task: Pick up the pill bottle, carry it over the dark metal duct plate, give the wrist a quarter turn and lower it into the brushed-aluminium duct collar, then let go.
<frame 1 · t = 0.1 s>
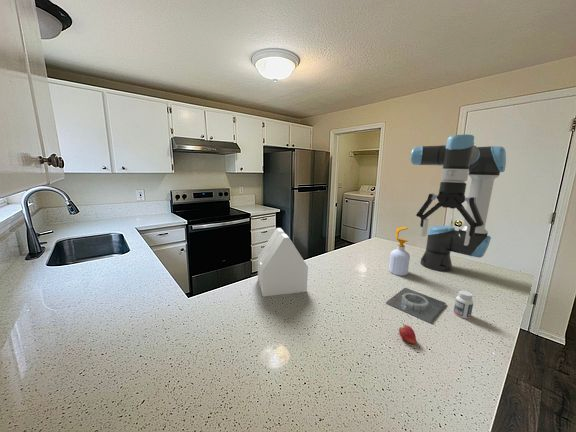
hand: (443, 240, 86), 28 cm above the countertop, fingers open, 13 cm apart
soap bottle: (397, 272, 124), on the countertop
pill bottle: (461, 315, 88), on the countertop
duct plate: (416, 304, 94), on the countertop
fruit: (407, 340, 74), on the countertop
white toy house: (281, 285, 107), on the countertop
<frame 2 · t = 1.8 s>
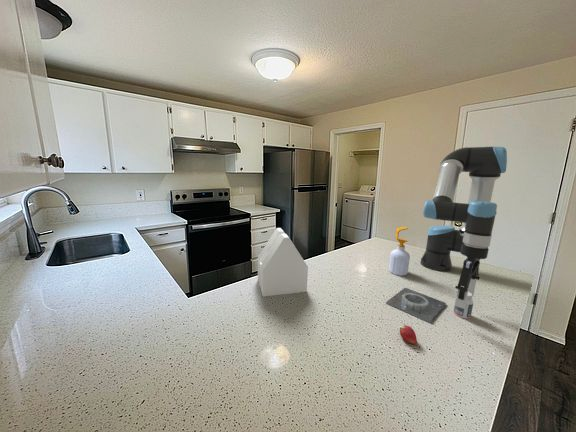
hand: (464, 300, 87), 6 cm above the countertop, fingers open, 13 cm apart
nothing on the countertop moved.
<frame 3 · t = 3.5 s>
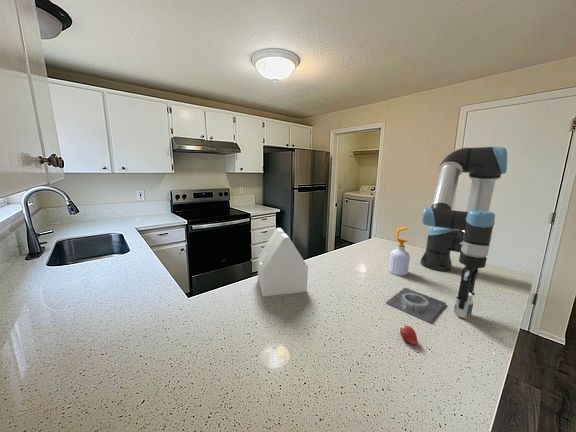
hand: (462, 312, 88), 1 cm above the countertop, fingers closed on pill bottle, 5 cm apart
pill bottle: (461, 315, 88), on the countertop, touching gripper
everything else where it was.
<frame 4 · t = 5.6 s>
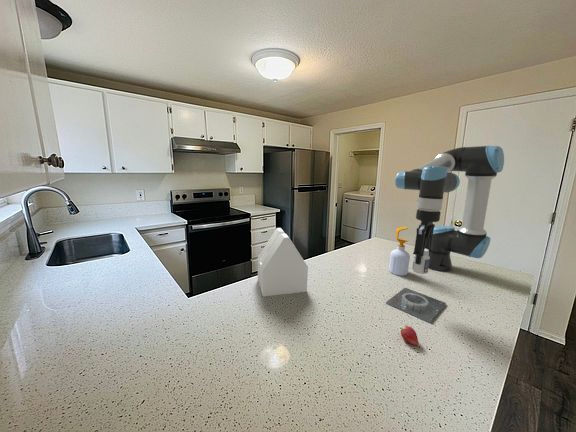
hand: (419, 269, 90), 16 cm above the countertop, fingers closed on pill bottle, 5 cm apart
pill bottle: (419, 271, 90), point 15 cm above the countertop, touching gripper
everything else where it was.
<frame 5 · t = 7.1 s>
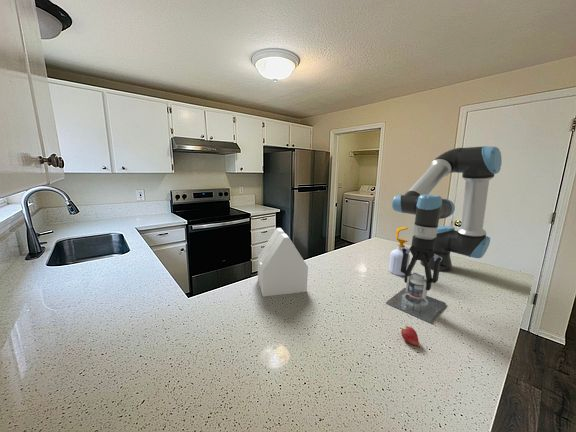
hand: (415, 293, 92), 5 cm above the countertop, fingers closed on pill bottle, 5 cm apart
pill bottle: (415, 296, 92), point 4 cm above the countertop, touching gripper
everything else where it was.
when the fingers open (4 cm above the countertop, at t = 8.1 s): pill bottle drops 2 cm, resting on duct plate.
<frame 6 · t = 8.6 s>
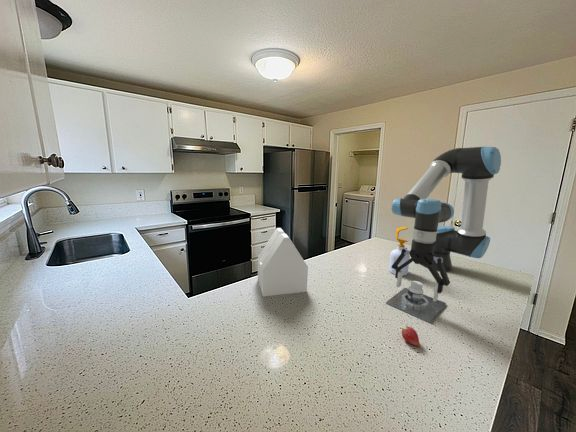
hand: (415, 292, 92), 6 cm above the countertop, fingers open, 13 cm apart
pill bottle: (413, 304, 93), point 1 cm above the countertop, touching duct plate
everything else where it was.
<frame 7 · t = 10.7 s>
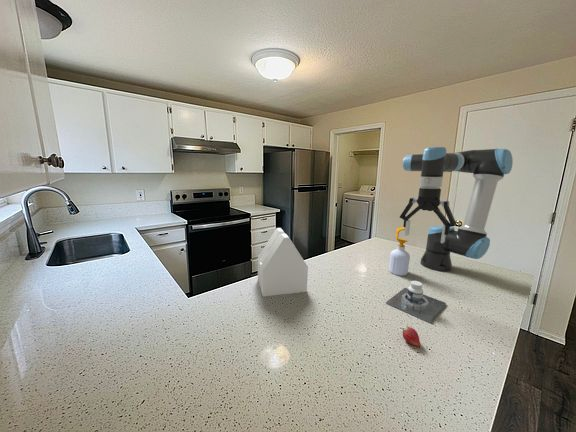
hand: (423, 238, 98), 25 cm above the countertop, fingers open, 13 cm apart
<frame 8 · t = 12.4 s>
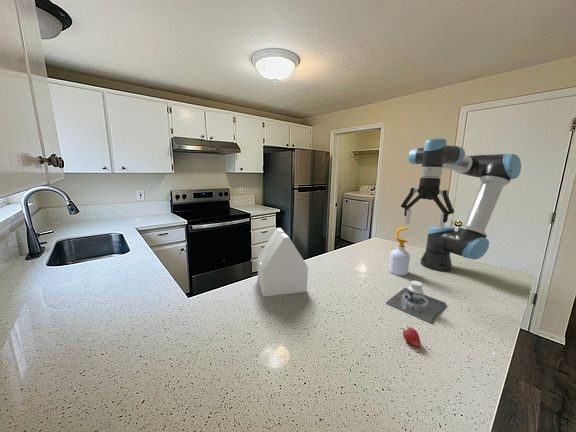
hand: (423, 226, 103), 29 cm above the countertop, fingers open, 13 cm apart
at the end: pill bottle 0.2 cm from the target spot on the duct plate, point 0.6 cm above the duct plate's base; pill bottle tilted 1°; the gripper is holding nothing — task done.
